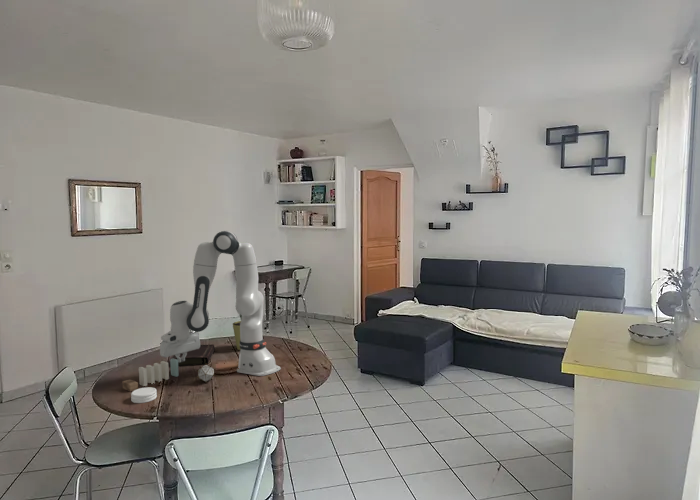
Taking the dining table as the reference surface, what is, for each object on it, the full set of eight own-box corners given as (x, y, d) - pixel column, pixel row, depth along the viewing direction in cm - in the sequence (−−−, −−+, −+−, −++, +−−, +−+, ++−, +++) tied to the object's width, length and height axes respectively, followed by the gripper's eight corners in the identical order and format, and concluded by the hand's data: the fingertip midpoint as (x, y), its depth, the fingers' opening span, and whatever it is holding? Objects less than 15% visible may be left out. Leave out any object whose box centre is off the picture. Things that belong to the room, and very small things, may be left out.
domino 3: (162, 381, 218) (161, 364, 217) (159, 381, 217) (158, 365, 216) (157, 379, 220) (156, 362, 220) (154, 380, 219) (153, 363, 219)
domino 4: (169, 378, 221) (168, 362, 220) (166, 379, 219) (165, 363, 219) (164, 377, 223) (163, 360, 223) (161, 377, 222) (160, 361, 222)
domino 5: (178, 375, 224) (177, 359, 224) (176, 376, 223) (175, 360, 223) (173, 374, 227) (172, 358, 227) (170, 375, 226) (170, 358, 225)
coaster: (160, 394, 202) (159, 386, 202) (151, 403, 192) (151, 395, 192) (136, 395, 201) (136, 387, 201) (127, 404, 191) (126, 395, 191)
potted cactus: (265, 346, 274) (264, 296, 272) (247, 352, 261) (245, 300, 259) (246, 342, 282) (245, 294, 280) (227, 349, 269) (225, 298, 267)
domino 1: (147, 385, 212) (146, 368, 212) (144, 386, 211) (143, 369, 210) (142, 383, 215) (141, 366, 214) (139, 384, 214) (138, 367, 213)
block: (138, 389, 207) (137, 382, 207) (130, 391, 205) (130, 384, 204) (130, 386, 212) (130, 379, 211) (122, 388, 209) (122, 381, 209)
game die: (203, 390, 215) (190, 377, 210) (204, 378, 222) (191, 365, 217) (220, 380, 215) (207, 367, 210) (220, 369, 222) (208, 355, 217)
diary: (215, 352, 266) (214, 343, 266) (208, 365, 242) (208, 356, 241) (181, 353, 263) (181, 345, 263) (171, 367, 239) (171, 358, 238)
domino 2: (154, 383, 215) (154, 366, 214) (151, 384, 214) (151, 367, 213) (149, 381, 218) (149, 364, 217) (147, 382, 216) (146, 365, 216)
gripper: (195, 329, 237) (196, 355, 238) (157, 337, 221) (158, 365, 222) (202, 330, 233) (203, 357, 234) (164, 339, 217) (165, 368, 218)
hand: (181, 361), depth 228 cm, fingers closed
